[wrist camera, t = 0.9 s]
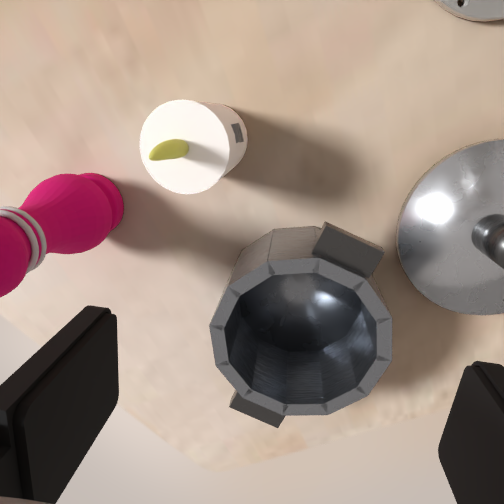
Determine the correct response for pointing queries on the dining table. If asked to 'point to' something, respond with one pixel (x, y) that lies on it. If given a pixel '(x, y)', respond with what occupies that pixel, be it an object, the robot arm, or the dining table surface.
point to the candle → (191, 144)
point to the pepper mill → (56, 223)
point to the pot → (302, 324)
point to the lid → (457, 231)
